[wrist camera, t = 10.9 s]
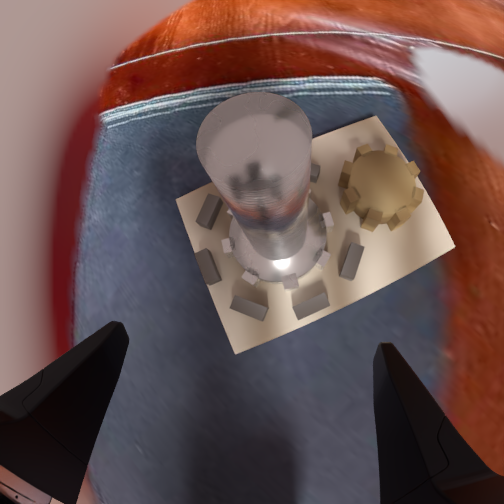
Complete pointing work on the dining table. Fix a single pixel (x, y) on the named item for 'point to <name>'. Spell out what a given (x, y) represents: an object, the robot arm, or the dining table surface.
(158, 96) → the dining table surface
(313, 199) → the carrier plate
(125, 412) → the dining table surface
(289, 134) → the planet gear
